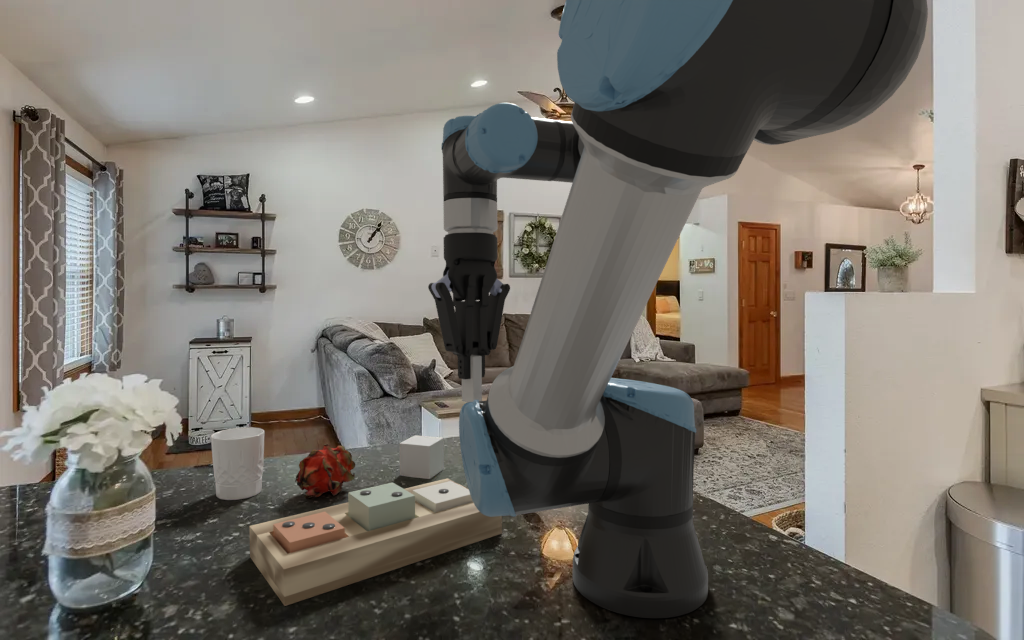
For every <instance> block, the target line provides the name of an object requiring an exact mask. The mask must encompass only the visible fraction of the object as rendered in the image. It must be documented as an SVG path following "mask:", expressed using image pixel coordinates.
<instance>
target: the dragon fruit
mask: <svg viewBox="0 0 1024 640" xmlns="http://www.w3.org/2000/svg"><path fill="white" fill-rule="evenodd" d="M352 457H353V454H352V453H351V452H350V451H348V450H347V449H346V448H345V446H344V445H337V447H335V448H334V447H330V445H329V444H328V443H324V444H323V448H322V449H312V450H311V451H310V453H309V454H308V455H307V456H306V457H304V458H302V459H301V461H299V463H298V468H299V471H298V472H297V474H296V476H295V481H294V482H295V483H296V484H297V486H298V487H299V488H300V489H301V491H304V490H305V491H306V492H305V495H304V499H309V498H319V497H321V496H322V495H323V494H324V493H327V492H330V493H331V494H332V496H334V497H335V496H337V495H338V493H340V492H341V491H342V490H343V484H344V483H350V482H351V481H354V480H355V477H356V475H355V472H353V473H352V470H354V469H355V467H356V463H355V461H354V460H353V458H352Z"/></svg>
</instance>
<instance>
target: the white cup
mask: <svg viewBox="0 0 1024 640" xmlns="http://www.w3.org/2000/svg"><path fill="white" fill-rule="evenodd" d="M210 440H211V441H210V443H211V456H212V466H213V467H212V468H213V478H214V480H215V496H216V497H217V498H218V499H219V500H225V501H238V500H242V499H243V500H244V499H248V498H251V497H255V496H256V495H258V494H260V493H261V492H262V488H263V487H262V486H263V485H262V484H263V473H264V458H265V453H264V452H265V430H264V429H263V428H261V427H251V426H250V427H249V426H247V427H237V428H228V429H223V430H219V431H217V432H214V433H212V434H211V435H210Z"/></svg>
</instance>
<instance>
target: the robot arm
mask: <svg viewBox="0 0 1024 640" xmlns="http://www.w3.org/2000/svg"><path fill="white" fill-rule="evenodd" d="M928 15H929V9H928V0H565V3H564V7H563V11H562V13H561V17H560V23H559V29H558V36H559V38H560V40H561V42H560V45H559V47H558V49H557V51H556V56H557V57H556V62H557V71H558V76H559V81H560V85H561V88H563V90H564V92H565V94H566V96H567V97H568V98H569V99H571V100H572V102H574V103H573V107H572V110H571V115H570V120H571V121H565V120H557V119H550V118H549V119H548V118H540V117H532V116H531V115H530V114H529V112H527V111H525V110H524V109H523V108H522V107H520V106H519V105H517V104H515V103H513V102H511V103H510V102H499V103H495V104H493V105H490V106H489V107H488V108H486V109H484V110H483V111H482V112H479V113H478V114H477V115H460V116H456V117H455V118H450V119H448V120H447V121H446V122H445V123H444V125H443V128H442V129H443V130H442V131H443V133H442V134H443V135H442V143H441V146H440V148H441V153H442V187H443V188H442V190H443V192H442V193H443V194H442V195H443V203H442V204H443V205H442V206H443V208H442V209H443V230H444V232H447V234H445V235H444V236H443V259H444V261H445V267H444V269H443V272H442V277H441V278H440V279H439V280H437V281H436V282H430V283H429V284H428V290H429V292H430V294H431V296H432V298H433V299H434V303H435V307H436V312H437V317H438V322H439V326H440V331H441V336H442V341H443V346H444V349H445V351H446V352H451V353H452V354H453V355H454V356H457V376H458V379H461V401H462V402H463V403H464V402H465V403H464V404H463V405H462V406H461V409H460V411H459V418H458V430H459V431H458V433H459V444H460V452H461V453H460V454H461V460H462V461H461V462H462V467H463V471H464V477H465V481H466V485H467V488H468V489H469V492H470V495H471V498H472V500H473V503H474V504H475V506H476V508H477V509H478V510H479V511H480V512H481V513H482V514H483V515H485V516H489V517H495V516H502V517H505V516H511V517H514V518H515V517H517V516H518V515H519V516H520V515H525V514H531V513H538V512H543V511H551V510H556V509H561V508H562V509H563V508H569V507H574V506H575V507H576V506H583V505H588V506H587V508H588V511H587V516H586V518H585V521H584V524H583V525H582V526H583V527H582V529H581V533H580V534H579V535H580V536H579V539H578V543H577V547H576V548H575V550H574V552H573V557H572V583H573V585H574V586H575V588H576V590H577V591H578V592H579V593H580V595H582V596H583V597H584V598H586V599H587V600H588V601H589V602H591V603H593V604H594V605H596V606H598V607H600V608H603V609H605V610H607V611H610V612H614V613H617V614H619V615H624V616H629V617H634V618H642V619H668V618H675V617H680V616H684V615H687V614H689V613H692V612H694V611H695V610H697V609H698V608H700V607H701V606H703V605H704V603H705V602H706V600H707V598H708V593H709V573H708V567H707V565H706V563H705V560H704V557H703V553H702V549H701V546H700V543H699V539H698V535H697V532H696V528H695V525H694V519H693V518H694V514H693V513H694V512H693V511H694V471H695V470H694V469H695V466H694V465H695V446H696V445H695V440H696V439H695V438H696V433H697V428H696V422H695V421H696V420H695V404H694V401H693V398H691V396H690V395H689V394H688V393H687V392H685V391H684V390H682V389H679V388H676V387H673V386H669V385H664V384H657V383H654V382H647V381H641V380H634V379H625V378H617V377H616V378H615V377H612V376H613V374H614V372H615V371H616V368H617V366H618V364H619V362H620V360H621V358H622V356H623V354H624V351H625V350H626V347H627V345H628V344H629V341H630V339H631V338H632V335H633V333H634V331H635V329H636V327H637V326H638V325H637V324H638V323H639V320H640V318H641V317H642V314H643V312H644V311H645V308H646V306H647V305H648V302H649V299H650V298H651V296H652V293H653V291H654V290H655V287H656V285H657V283H658V281H659V280H660V277H661V275H662V273H663V271H664V269H665V266H667V265H666V264H667V262H668V261H669V258H670V256H671V254H672V252H673V249H674V248H675V246H676V244H677V242H678V239H679V237H680V236H681V234H682V231H683V230H684V227H685V225H686V223H687V221H688V219H689V216H690V214H691V213H692V212H693V211H692V210H694V209H693V208H694V206H695V205H696V203H697V200H698V198H699V196H700V194H701V192H702V189H704V188H706V187H709V186H711V185H714V184H717V183H720V182H723V181H726V180H728V179H730V178H732V177H734V176H736V175H735V174H736V173H737V172H738V170H739V168H740V166H741V164H742V162H743V160H744V159H745V156H746V154H747V152H748V151H749V150H750V147H751V145H752V144H753V141H754V142H757V143H759V144H763V145H769V146H777V145H784V144H786V143H791V142H795V141H799V140H803V139H807V138H810V137H811V138H812V137H817V136H822V135H825V134H826V135H827V134H830V133H833V132H836V131H840V130H842V129H845V128H847V127H849V126H852V125H854V124H858V123H859V122H860V121H862V120H863V119H865V118H867V117H868V116H869V115H871V114H873V113H874V112H876V111H877V109H879V108H880V107H881V106H883V104H885V103H886V102H887V101H888V100H890V99H891V98H892V96H894V95H895V93H896V92H897V91H898V90H899V88H900V87H901V86H902V84H903V83H904V82H905V81H906V79H907V77H908V76H909V74H910V72H911V70H912V69H913V67H914V65H915V63H916V61H917V60H918V57H919V56H920V55H919V54H920V52H921V49H922V46H923V44H924V40H925V37H926V31H927V24H928ZM505 178H506V179H516V180H527V181H528V180H530V181H542V182H543V181H544V182H558V183H560V182H561V183H571V187H570V188H569V189H570V190H569V193H568V196H567V199H566V202H565V205H564V208H563V211H562V215H561V217H560V221H559V224H558V226H557V230H556V234H555V237H554V241H553V243H552V245H551V249H550V252H549V255H548V259H547V261H546V264H545V267H544V270H543V273H542V277H541V281H540V283H539V286H538V289H537V293H536V295H535V299H534V301H533V303H532V304H533V305H532V308H531V312H530V315H529V318H528V320H527V324H526V326H525V330H524V333H523V335H522V336H523V337H522V338H521V342H520V345H519V348H518V351H517V355H516V358H515V360H514V364H513V366H510V367H509V368H508V367H507V368H506V369H505V370H503V371H502V372H500V373H499V374H498V375H497V376H495V379H494V380H493V382H492V383H491V385H490V389H489V391H488V395H487V398H486V400H483V387H482V386H483V381H482V378H485V376H486V356H489V355H490V354H491V351H492V350H496V348H497V347H498V343H499V342H498V341H499V335H500V329H501V325H502V319H503V313H504V307H505V302H506V301H505V300H506V298H507V297H508V294H509V293H510V290H511V285H510V284H509V283H503V282H502V281H501V280H499V279H498V272H497V270H496V267H495V265H496V264H495V263H496V261H497V260H498V237H497V236H496V234H494V233H496V232H497V231H498V230H499V228H498V181H499V179H505ZM451 293H452V295H451Z"/></svg>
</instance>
